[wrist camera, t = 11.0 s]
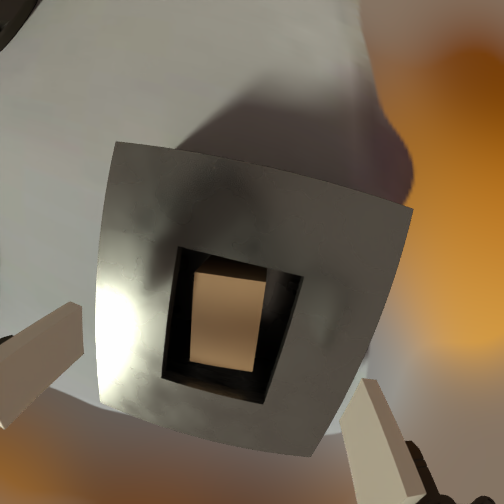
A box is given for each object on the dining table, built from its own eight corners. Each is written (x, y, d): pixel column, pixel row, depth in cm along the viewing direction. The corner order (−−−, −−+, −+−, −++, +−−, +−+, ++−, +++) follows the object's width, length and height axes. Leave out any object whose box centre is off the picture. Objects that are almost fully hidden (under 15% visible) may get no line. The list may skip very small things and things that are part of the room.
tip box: (166, 156, 21) (115, 141, 14) (367, 202, 21) (413, 208, 13) (139, 353, 25) (100, 402, 17) (303, 394, 25) (310, 457, 17)
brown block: (215, 250, 22) (194, 271, 16) (268, 258, 22) (265, 282, 16) (209, 322, 23) (190, 361, 17) (257, 330, 23) (252, 371, 17)
